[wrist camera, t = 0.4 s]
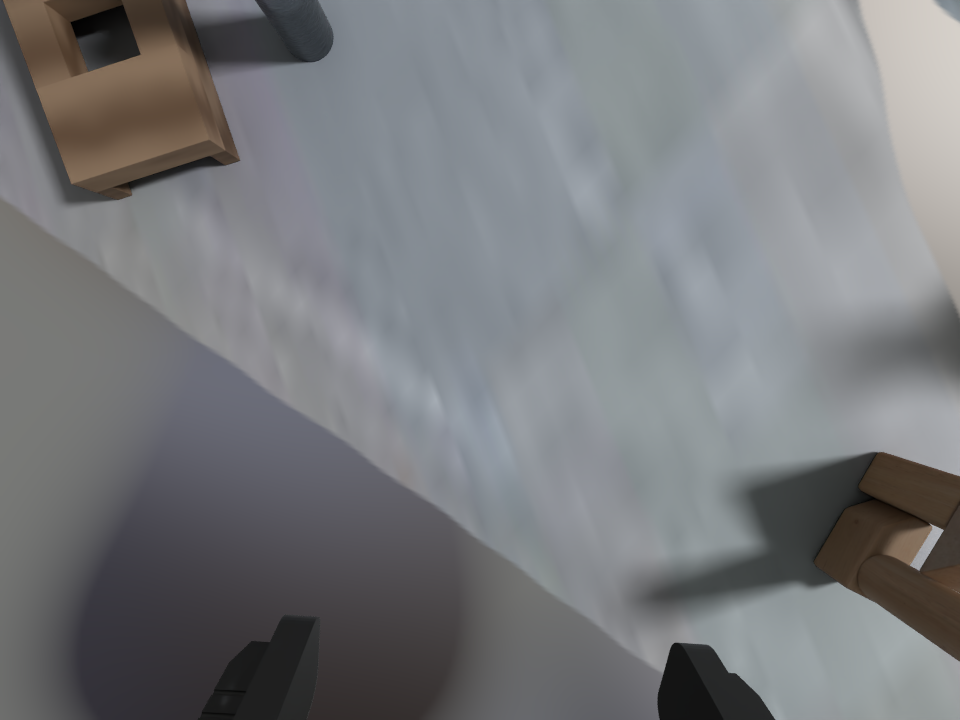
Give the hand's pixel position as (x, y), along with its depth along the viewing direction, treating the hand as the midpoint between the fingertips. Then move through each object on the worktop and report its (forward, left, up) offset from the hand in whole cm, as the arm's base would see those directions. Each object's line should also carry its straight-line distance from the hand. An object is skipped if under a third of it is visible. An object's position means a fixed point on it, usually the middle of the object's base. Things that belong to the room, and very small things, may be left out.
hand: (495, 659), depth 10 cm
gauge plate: (-22, -30, -26) cm, 46 cm away
